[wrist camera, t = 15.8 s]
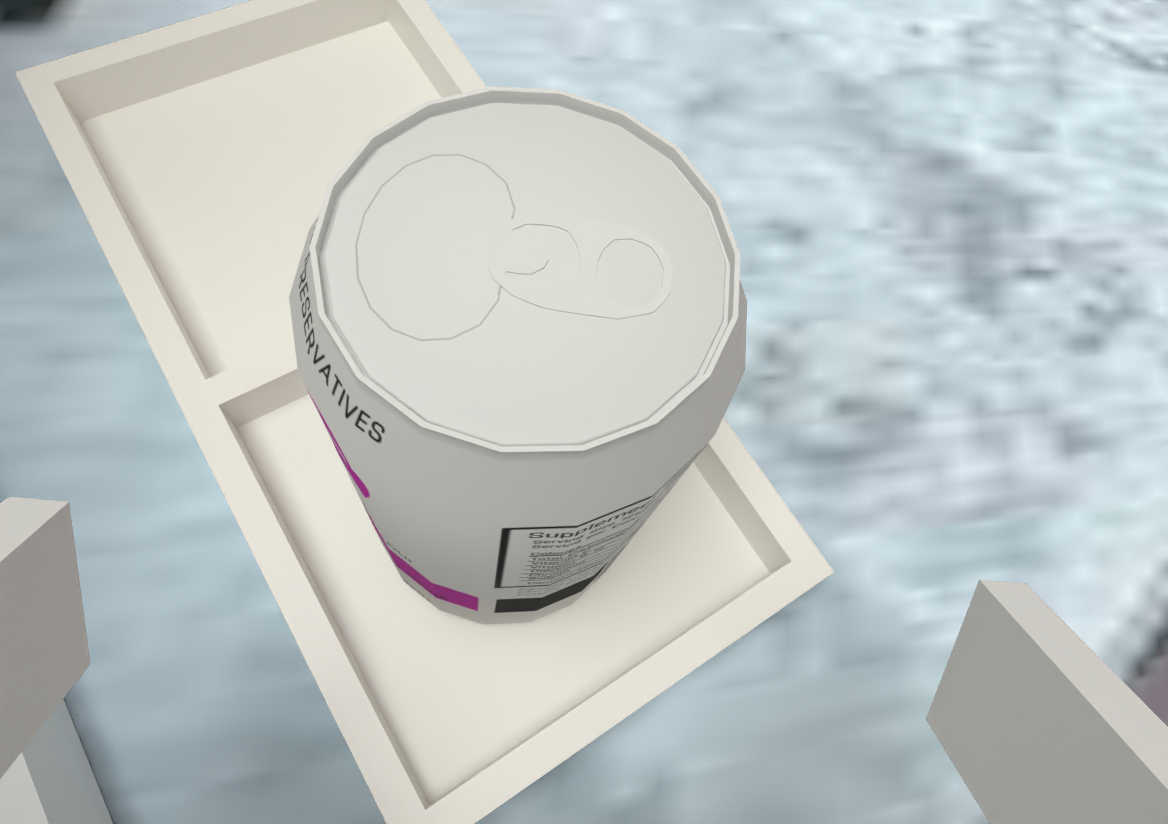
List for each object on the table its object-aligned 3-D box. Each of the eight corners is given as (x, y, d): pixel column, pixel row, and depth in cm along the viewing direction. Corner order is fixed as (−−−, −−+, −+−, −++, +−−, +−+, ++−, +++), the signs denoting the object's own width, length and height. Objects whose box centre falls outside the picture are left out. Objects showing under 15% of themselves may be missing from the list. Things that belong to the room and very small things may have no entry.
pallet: (61, 140, 31) (14, 71, 28) (400, 26, 36) (393, -43, 33) (418, 850, 24) (409, 869, 20) (792, 590, 28) (834, 571, 25)
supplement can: (354, 610, 24) (201, 451, 11) (406, 375, 28) (339, 22, 14) (609, 643, 25) (772, 532, 11) (630, 410, 28) (777, 104, 15)
